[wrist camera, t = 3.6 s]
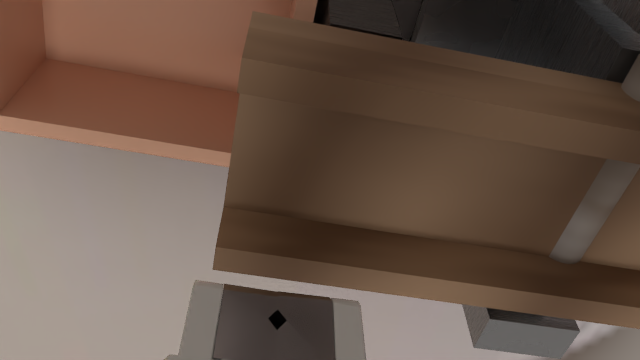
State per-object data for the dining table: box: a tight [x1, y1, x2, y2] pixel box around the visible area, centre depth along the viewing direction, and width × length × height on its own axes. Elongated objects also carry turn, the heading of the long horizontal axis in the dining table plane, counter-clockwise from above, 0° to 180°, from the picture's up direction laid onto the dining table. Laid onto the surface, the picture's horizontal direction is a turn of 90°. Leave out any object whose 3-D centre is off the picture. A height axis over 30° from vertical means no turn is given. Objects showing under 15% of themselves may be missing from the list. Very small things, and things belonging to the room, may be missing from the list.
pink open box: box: [0, 0, 318, 167], centre depth 20 cm, size 10×8×5 cm
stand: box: [313, 0, 640, 359], centre depth 19 cm, size 12×13×10 cm
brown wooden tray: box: [213, 11, 640, 329], centre depth 16 cm, size 20×9×3 cm, turn 78°
